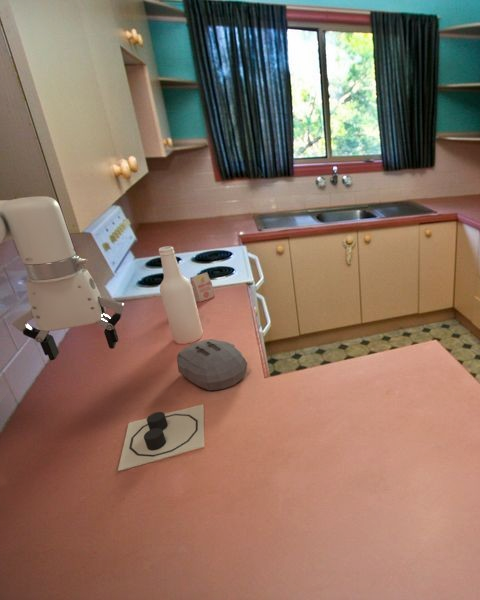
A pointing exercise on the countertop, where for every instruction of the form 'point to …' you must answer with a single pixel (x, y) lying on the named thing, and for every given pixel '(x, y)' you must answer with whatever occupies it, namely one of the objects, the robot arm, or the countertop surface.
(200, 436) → the sheet
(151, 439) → the cylinder
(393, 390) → the countertop surface
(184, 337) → the alcohol
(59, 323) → the robot arm
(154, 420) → the cylinder
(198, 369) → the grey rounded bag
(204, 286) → the small printed carton
